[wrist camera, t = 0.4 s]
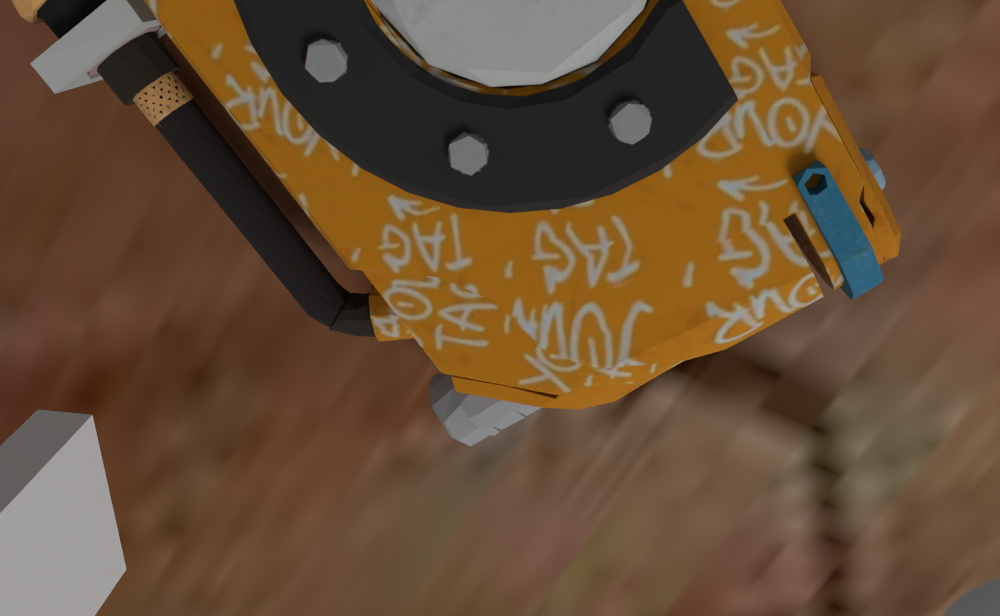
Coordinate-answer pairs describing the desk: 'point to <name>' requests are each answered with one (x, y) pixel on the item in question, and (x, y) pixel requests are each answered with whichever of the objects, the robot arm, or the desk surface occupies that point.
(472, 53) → the device
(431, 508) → the desk surface
